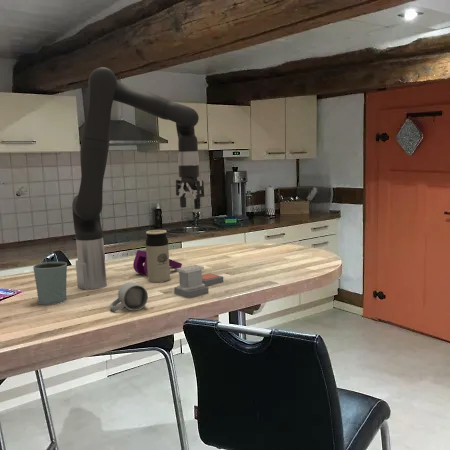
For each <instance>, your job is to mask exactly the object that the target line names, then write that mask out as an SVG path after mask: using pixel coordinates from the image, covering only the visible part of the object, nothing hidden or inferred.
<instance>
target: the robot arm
mask: <svg viewBox="0 0 450 450" xmlns="http://www.w3.org/2000/svg"><path fill="white" fill-rule="evenodd" d="M87 86H88V89H89V103H88V109H87V110H88V111H87V114H86V118H85V121H84V125H83V129H82V134H81V135H82V136H81V142H80V143H81V144H80V154H79V157H80V158H79V159H80V161H79V162H80V170H81V171H80V172H81V173H80V174H81V177H80V184H79V188H78V189H79V190H78V193H77V195H75V196H74V198H73V201H72V203H71V204H72V205H71V206H72V207H71V208H72V220H73V221H72V222H73V229H74V233H75V243H76V255H77V259H76V260H75V271H76V281H77V288H79V289H81V290H84V291H85V290H86V291H88V290H96V289H101V288H104V287H106V286H107V285H108V284H107V283H108V282H107V280H108V279H107V269H106V258H105V257H106V256H105V245H104V244H105V243H104V232H103V227H102V223H101V215H100V214H101V213H102V211H103V191H104V190H103V189H104V179H105V178H104V177H105V172H106V168H107V163H108V156H109V155H108V154H109V148H110V139H111V127H112V126H111V125H112V124H111V121H112V120H111V118H112V117H111V115H112V108H113V102H117V103H121V104H124V105H128V106H131V107H133V108H134V109H138V110H139V111H143V112H144V113H146V114H149V115H152V116H154V117H157V118H160V119H162V120H166V121H171V122H173V123H175V128H176V134H177V138H178V139H177V140H178V142H177V143H178V144H177V145H178V146H177V147H178V156H177V159H178V161H177V163H178V177H179V178H181V179H176V180H175V196H177V197H179V206H180V208H183V209H184V208H186V207H187V198H186V197H187V194H188V193H190V194H191V195H192V196H193V198H194V199H193V204H194V205H193V207H194V210H200V209H201V199H202V198H204V197H205V185H204V184H205V183H204V182H205V181H204V180H203V179H202V180H198V178H199V177H200V160H199V159H200V158H199V157H200V156H199V151H198V150H199V149H198V136H196V134H195V132H196V131H195V126H197V124H198V122H199V120H200V119H199V114H198V112H197V111H196V109H194V108H192V107H190V106H187V105H184V104H181V103H177V102H173V101H171V100H169V99H167V98H165V97H163V96H160V95H159V94H155V93H153V92H148V91H145V90H141V89H137V88H134V87H132V86H129V85H127V84H125V83H123V82H121V81H119V80H117V76H116V75H115V72H114V71H112V69H110V68H108V67H104V66H100V67H97V68H95V69H94V70H93V71H92V72H91V73H90V75H89V77H88V81H87Z"/></svg>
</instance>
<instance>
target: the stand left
mask: <svg viewBox="0 0 450 450" xmlns="http://www.w3.org/2000/svg"><path fill="white" fill-rule="evenodd" d="M173 291H174V293H173V294H175V295H178V296H181V297H183V298H187V299H191V298H195V297H199V296H203V295H207V294H209V293H210V291H209V286H205V287H201V288H197V289H193V290H189V291H184V290H181V289H178V288H177V286H175V287H174V288H173Z"/></svg>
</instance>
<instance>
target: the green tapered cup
mask: <svg viewBox="0 0 450 450" xmlns="http://www.w3.org/2000/svg"><path fill="white" fill-rule="evenodd" d="M32 269H33V274H34V281H35V284H36V293H37V301H38V304H39V305H41V304H42V305H43V306H52V304H53V305H57V304H58V303H59V304H62V303H64V302H66V301H67V285H68V284H67V278H68V275H67V273H68V272H67V271H68V263H67V262H65V261H45V262H40V263H36V264H34V265H33V266H32ZM65 300H66V301H65ZM61 302H62V303H61ZM42 305H41V306H42Z"/></svg>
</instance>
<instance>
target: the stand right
mask: <svg viewBox="0 0 450 450" xmlns="http://www.w3.org/2000/svg"><path fill="white" fill-rule="evenodd" d="M222 282H223V283H224V276H223V275H219V274H215V273H211V272H208V273H204V274H203V273H202V283H203V284H205V286H206V287H209V286H210V287H211V286H215V285H217V284H222Z"/></svg>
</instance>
